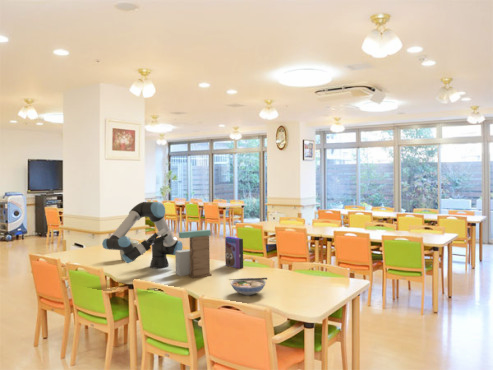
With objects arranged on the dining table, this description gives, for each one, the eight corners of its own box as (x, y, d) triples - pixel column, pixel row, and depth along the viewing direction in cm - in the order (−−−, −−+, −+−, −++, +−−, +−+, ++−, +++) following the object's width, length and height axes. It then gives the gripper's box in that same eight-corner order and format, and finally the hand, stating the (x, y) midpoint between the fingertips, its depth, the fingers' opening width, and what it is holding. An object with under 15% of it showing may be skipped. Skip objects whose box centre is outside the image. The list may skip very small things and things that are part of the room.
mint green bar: (179, 237, 300) (178, 232, 299) (208, 235, 312) (208, 229, 312) (181, 238, 296) (180, 232, 296) (210, 235, 308) (210, 230, 308)
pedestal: (188, 275, 306) (187, 236, 306) (206, 273, 314) (205, 234, 313) (193, 278, 299) (192, 237, 298) (211, 275, 306) (210, 236, 306)
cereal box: (225, 265, 341) (225, 237, 340) (230, 264, 344) (229, 236, 343) (238, 268, 328) (238, 239, 327) (243, 267, 331) (242, 238, 330)
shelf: (175, 273, 313) (175, 250, 312) (199, 270, 323) (199, 248, 323) (179, 276, 306) (179, 252, 306) (203, 272, 316) (203, 249, 316)
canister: (120, 263, 356) (120, 239, 355) (116, 259, 371) (116, 236, 371) (141, 260, 364) (141, 237, 364) (136, 257, 380) (135, 235, 380)
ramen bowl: (227, 299, 246) (227, 286, 246) (229, 289, 269) (229, 276, 269) (269, 299, 246) (268, 285, 246) (266, 288, 269) (266, 276, 269)
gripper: (141, 249, 302) (164, 233, 311) (150, 254, 280) (176, 236, 290) (136, 240, 300) (159, 225, 309) (145, 245, 279) (170, 228, 288)
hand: (167, 230), depth 299 cm, fingers open, 13 cm apart
